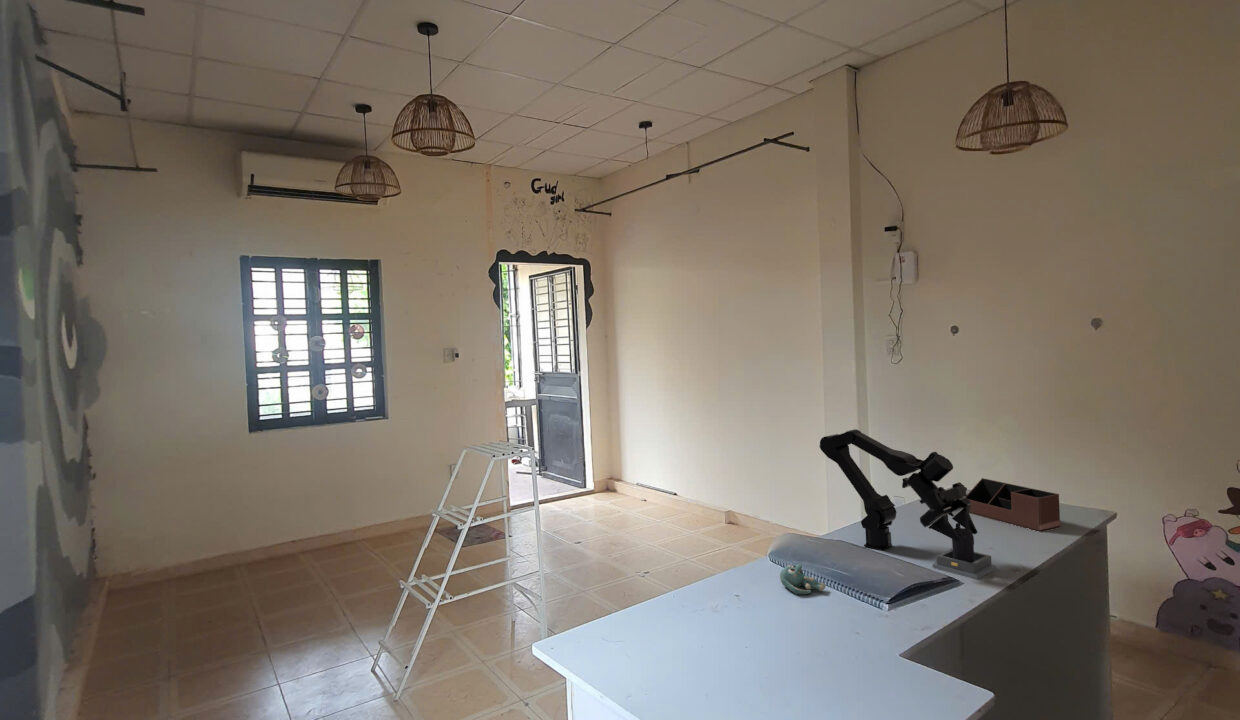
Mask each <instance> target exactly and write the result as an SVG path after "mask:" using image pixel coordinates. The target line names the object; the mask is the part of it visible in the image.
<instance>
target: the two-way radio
mask: <svg viewBox="0 0 1240 720" xmlns="http://www.w3.org/2000/svg"><path fill="white" fill-rule="evenodd" d="M953 528H954V530H955V531H956V533H957V534H958V535H959V537H960V538H961V540H960V541H959V542H957V541H955V540H953V539H951V544H952V545H951V546H952V548H953V559H957V560H961V561H965V562H970V563H972V562H974V552H975V551H974V550H975V549H974V547H975V546H974V545H975V540H974V539H975V538H974V537H975V536H974V534H973V533H972V531H971V530H970V529H969V521H968V512H965V528H964V527H961V525H960V524H959V523H957V522H956V523H955V527H953ZM952 548H951V549H952Z"/></svg>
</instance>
